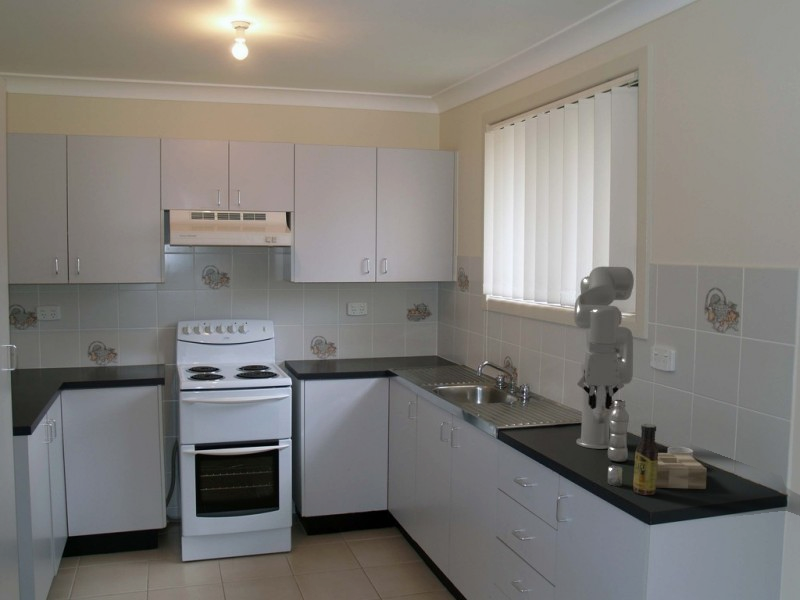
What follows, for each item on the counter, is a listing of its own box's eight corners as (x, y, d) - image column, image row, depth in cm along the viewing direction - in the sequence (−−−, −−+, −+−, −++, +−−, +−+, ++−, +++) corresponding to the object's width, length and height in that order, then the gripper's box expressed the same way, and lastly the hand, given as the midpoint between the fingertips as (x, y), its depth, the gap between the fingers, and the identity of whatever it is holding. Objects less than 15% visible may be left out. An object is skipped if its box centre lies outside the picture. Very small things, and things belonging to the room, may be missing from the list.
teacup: (683, 462, 252) (684, 446, 252) (697, 468, 245) (698, 452, 244) (656, 463, 250) (656, 447, 249) (669, 470, 242) (670, 453, 242)
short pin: (605, 481, 229) (606, 465, 228) (618, 481, 229) (619, 465, 229) (610, 486, 225) (611, 470, 224) (623, 486, 225) (624, 469, 225)
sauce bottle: (628, 489, 222) (631, 422, 221) (648, 488, 224) (651, 421, 222) (640, 497, 216) (643, 427, 214) (660, 496, 217) (664, 426, 216)
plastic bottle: (605, 462, 250) (608, 401, 248) (608, 457, 256) (610, 398, 255) (626, 464, 247) (629, 403, 246) (628, 459, 254) (630, 399, 252)
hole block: (635, 471, 241) (636, 452, 240) (687, 472, 240) (688, 453, 240) (650, 487, 225) (651, 467, 224) (705, 488, 224) (706, 468, 224)
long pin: (591, 420, 236) (592, 381, 235) (604, 420, 236) (605, 382, 235) (593, 423, 232) (595, 384, 231) (607, 424, 232) (608, 384, 231)
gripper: (626, 347, 236) (624, 406, 237) (572, 346, 236) (569, 404, 238) (633, 351, 228) (630, 411, 230) (576, 349, 229) (574, 410, 230)
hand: (599, 407), depth 234 cm, fingers closed on long pin, 4 cm apart
